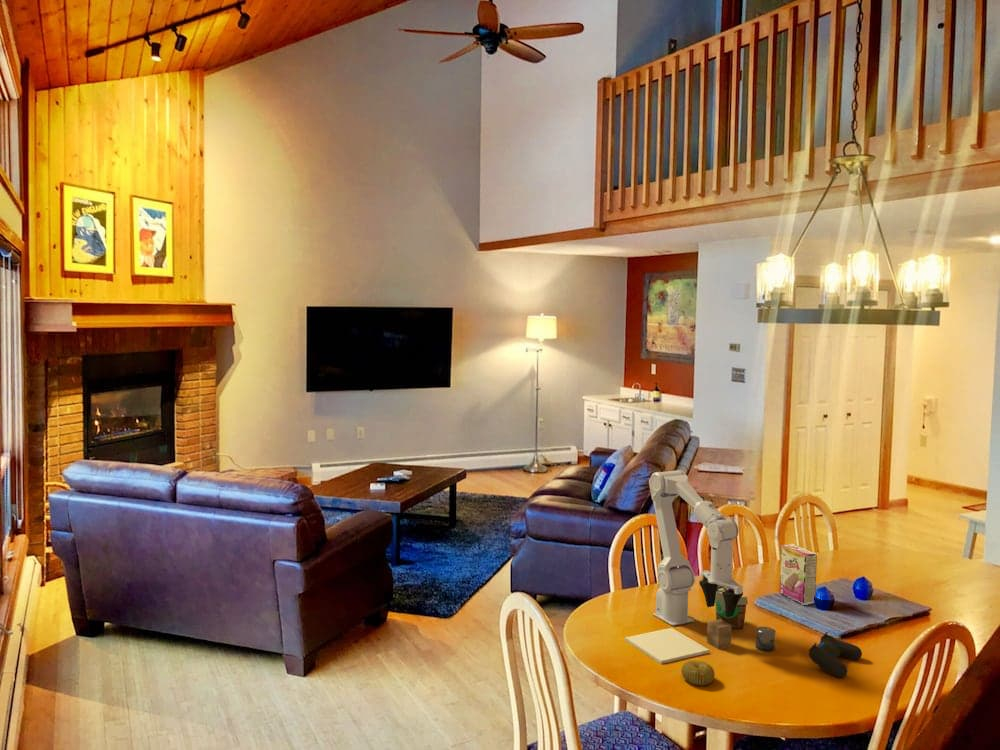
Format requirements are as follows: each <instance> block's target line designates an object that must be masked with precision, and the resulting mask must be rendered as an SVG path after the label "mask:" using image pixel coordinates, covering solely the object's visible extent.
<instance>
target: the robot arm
mask: <svg viewBox="0 0 1000 750" xmlns="http://www.w3.org/2000/svg"><path fill="white" fill-rule="evenodd" d="M648 484H649V485H648V486H649V492H650V496H651V500H652V502H653V507H654V508H653V509H654V514H655V519H656V524H657V528H658V535H659V539H660V545H661V550H662V554H663V555H662V556H663V559H662V560H661V561H660V562H659V563H658V565H657V566H656V567H657V583H658V586H659V588H658V589H657V590H656V595H655V612H653V616H655V617H656V618H658V619H659V620H662V621H663V622H666V624H668V625H670V626H672V627H675V626H678V625H679V626H680V625H684V624H689V623H692V622H693V623H694V621H695V620H694V619H693V618H692V617H689V616H688V615H689V614H688V613H689V612H688V610H689V607H688V606H689V592H690V591H691V588H692V587H694V584H695V583H696V582H695V581H696V577H695V573H694V570H693V568H692V565H691V563H690V561H689V560H688V559H687V558H685V557H684V556H683V555H682V550H681V544H680V539H679V533H678V529H677V528H678V527H677V524H676V518H675V513H674V508H673V502H674V501H675V499H677V498H678V497H679V496H680V498H682V500H684V501H685V502H686V503H687V504H688V505H689V506H690V507H691V508H692V509H693V514H694V516H695V518H697V519H698V521H699V522H700V523H701V524H702V525H703V526H704V527H705V528H706V533H707V536H708V539H709V545H710V547H711V550H710V571H709V570H707V569H704V570H701V571H700V579H702V580H699V582H698V583H699V586H700V587H701V590H702V592H703V596H704V600H705V603H706V607H707V608H712V607H715V597H716V590H717V587H718V585H720V586H722V587H724V588H726V589H728V591H724V592H722V594H723V597H724V601H725V614H726V616H727V617H731V616H733V615H734V612H735V609H736V606H737V603H738V601H739V600H740V598H741V597H743V595H744V592H743V591H744V589H743V585H741V584H739V583H738V582H737V581H736V580H735V579H733V565H734V564H733V562H734V556H733V555H734V539H735V540H736V538H737V537H738V536H739V526H738V524H737V522H736V521H735V519H734V518H732V517H727V516H724V514H723V513H721V511H719V510H718V509H717V508H716V507H715V505H714V503H713V501H709V500H703V498H702V497H701V496H700V495H699V494H698V493H697V492H696V490H695V488H694V487H693V486H692V485H691V484H690V479H689V476H688V475H687V474H686V473H685V472H684V470H682V469H677V470H670V471H667V470H666V471H656V472H653V473H652V474H651V476H650V478H649V480H648Z"/></svg>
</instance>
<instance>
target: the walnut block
mask: <svg viewBox="0 0 1000 750" xmlns="http://www.w3.org/2000/svg"><path fill="white" fill-rule="evenodd" d="M706 628H707V629H706V632H707V633H706V644H708V645H709V646H712V647H714V648H715V649H716V650H720V649H724V648H729V647H731V646H732V630H733V629H732V625H730V624H728V623H727V622H725V621H723V620H721V619H719V620H716V619H715V620H711V621H707V627H706Z"/></svg>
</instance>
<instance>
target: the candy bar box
mask: <svg viewBox="0 0 1000 750" xmlns="http://www.w3.org/2000/svg"><path fill="white" fill-rule="evenodd" d="M817 561H818V553H816V552H813V551H811V550H808V549H806V548H804V547H801V546H799V545H796V544H795V543H789V544H782V545H781V547H780V569H779V570H780V574H779V594H780V595H781V594H783V595H786V596H788V597H790V598H793V599H795V600H798V601H800V602H803V603H806V602H811V601H813V599H814V595H815V596H816V588H817V587H816V585H817V565H818V564H817V563H818V562H817ZM783 595H782V596H783Z"/></svg>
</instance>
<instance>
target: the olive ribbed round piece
mask: <svg viewBox="0 0 1000 750" xmlns="http://www.w3.org/2000/svg"><path fill="white" fill-rule="evenodd" d="M681 676H682V678H683V679H684V680H685V681H686V682H688V683H690V684H692V685H695V686H706V685H709V684H710V683H712V682H713V681H714V679H715V669H714V668H713V667H712V666H711V665H710V664H709V663H707V662H704V661H701V660H689V661H686V662H685V663H684V664H683V665H682V667H681ZM698 684H699V685H698Z"/></svg>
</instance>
